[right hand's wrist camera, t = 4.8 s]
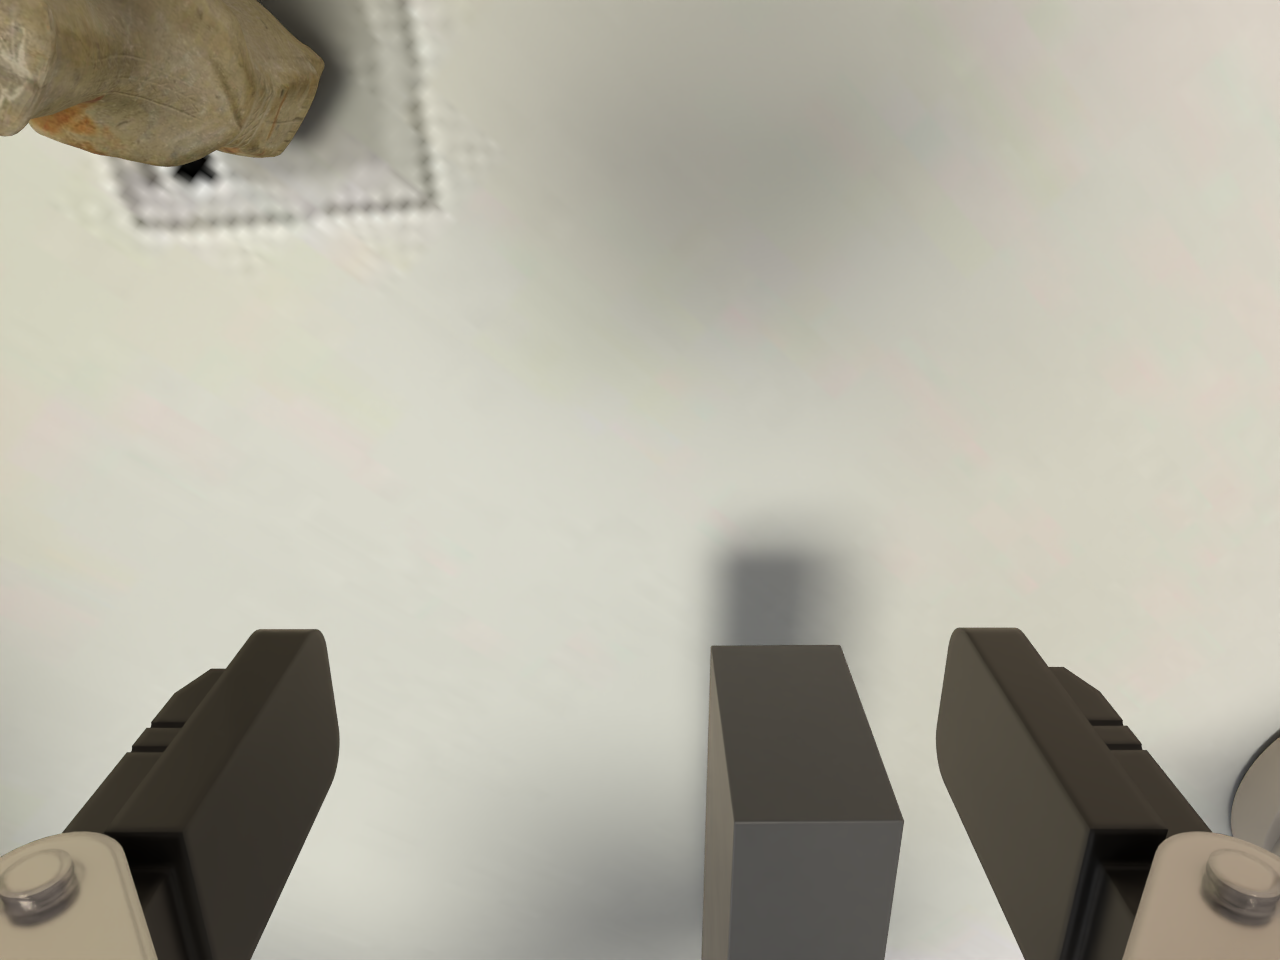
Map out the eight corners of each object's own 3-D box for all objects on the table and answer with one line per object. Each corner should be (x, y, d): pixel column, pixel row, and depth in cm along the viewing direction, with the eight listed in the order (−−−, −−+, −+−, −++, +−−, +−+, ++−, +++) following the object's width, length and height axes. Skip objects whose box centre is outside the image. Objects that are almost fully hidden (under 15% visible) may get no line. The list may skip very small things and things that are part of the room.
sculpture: (185, -93, 31) (-184, -236, 17) (368, 54, 33) (168, 31, 19) (109, 56, 33) (-281, 35, 19) (286, 187, 34) (49, 256, 21)
